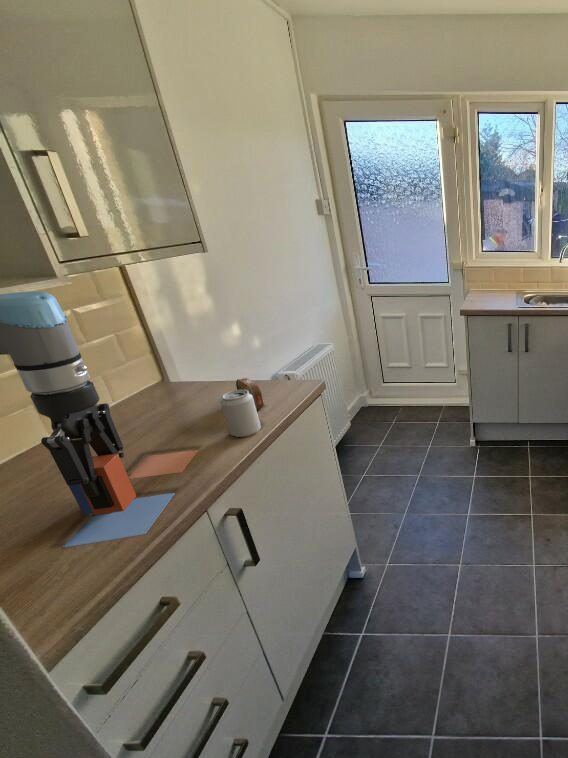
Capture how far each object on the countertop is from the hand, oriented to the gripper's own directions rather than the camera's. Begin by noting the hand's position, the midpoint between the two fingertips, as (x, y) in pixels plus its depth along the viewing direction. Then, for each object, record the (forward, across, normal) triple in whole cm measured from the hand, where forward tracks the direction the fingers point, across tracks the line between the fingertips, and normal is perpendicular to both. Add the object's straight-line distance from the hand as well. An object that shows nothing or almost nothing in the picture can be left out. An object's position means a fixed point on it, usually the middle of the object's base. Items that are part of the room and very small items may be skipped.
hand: (112, 497), depth 79 cm
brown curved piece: (+8, +54, -8) cm, 55 cm away
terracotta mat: (+8, +23, +4) cm, 25 cm away
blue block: (+7, +8, +8) cm, 13 cm away
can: (+8, +36, -12) cm, 38 cm away
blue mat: (+8, +3, +2) cm, 9 cm away
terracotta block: (+2, 0, 0) cm, 2 cm away
